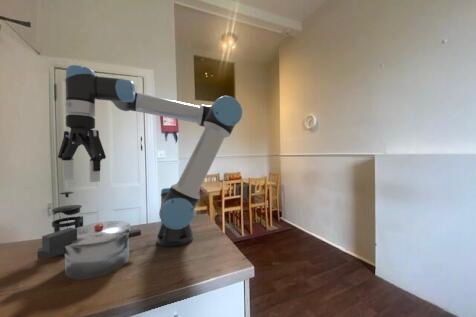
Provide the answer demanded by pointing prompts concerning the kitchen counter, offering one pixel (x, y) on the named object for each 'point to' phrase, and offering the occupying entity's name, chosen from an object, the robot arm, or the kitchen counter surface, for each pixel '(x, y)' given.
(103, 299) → the kitchen counter surface
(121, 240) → the pressure cooker pot
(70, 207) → the french press
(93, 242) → the lid
